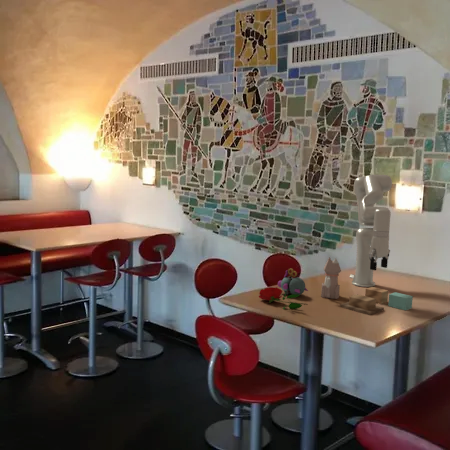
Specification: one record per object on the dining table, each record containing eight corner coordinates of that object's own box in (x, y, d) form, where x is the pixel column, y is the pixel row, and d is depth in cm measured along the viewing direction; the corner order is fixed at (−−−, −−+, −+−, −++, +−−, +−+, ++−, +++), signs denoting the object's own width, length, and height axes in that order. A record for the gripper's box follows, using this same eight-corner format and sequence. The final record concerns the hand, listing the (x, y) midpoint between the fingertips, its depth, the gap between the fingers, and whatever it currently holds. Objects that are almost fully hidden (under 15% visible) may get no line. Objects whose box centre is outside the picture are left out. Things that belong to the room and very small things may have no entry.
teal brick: (388, 306, 267) (389, 294, 266) (394, 304, 271) (395, 292, 270) (405, 310, 260) (406, 298, 259) (411, 308, 264) (412, 296, 263)
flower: (311, 288, 250) (262, 281, 272) (300, 301, 245) (250, 292, 266) (317, 304, 254) (268, 295, 275) (306, 317, 248) (257, 307, 270)
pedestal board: (340, 306, 263) (340, 296, 262) (354, 302, 271) (355, 292, 270) (369, 314, 251) (370, 303, 251) (383, 310, 259) (384, 299, 259)
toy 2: (340, 294, 285) (343, 256, 283) (335, 303, 268) (338, 262, 266) (323, 292, 288) (325, 254, 285) (317, 301, 271) (319, 261, 268)
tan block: (364, 300, 276) (365, 288, 275) (371, 298, 280) (372, 286, 279) (380, 304, 270) (381, 292, 269) (387, 302, 274) (388, 290, 273)
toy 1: (273, 294, 283) (297, 299, 272) (274, 267, 281) (297, 272, 271) (287, 290, 291) (310, 295, 280) (288, 265, 289) (311, 269, 279)
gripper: (383, 231, 279) (381, 265, 281) (364, 234, 267) (362, 269, 269) (397, 233, 273) (394, 267, 276) (378, 236, 261) (375, 272, 264)
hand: (378, 268), depth 272 cm, fingers open, 9 cm apart
